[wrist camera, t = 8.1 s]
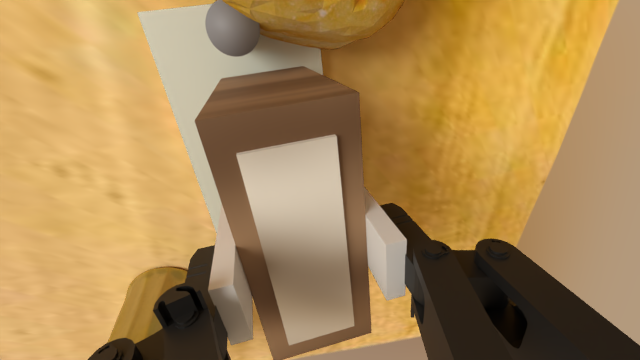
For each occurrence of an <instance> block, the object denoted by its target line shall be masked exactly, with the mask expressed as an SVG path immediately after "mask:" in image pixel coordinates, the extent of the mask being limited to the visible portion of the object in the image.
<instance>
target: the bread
mask: <svg viewBox="0 0 640 360" xmlns="http://www.w3.org/2000/svg"><path fill="white" fill-rule="evenodd" d="M216 1H217V0H216ZM223 2H225V3H226V4H228V5H229V6H231V7H232V8H234V9H236V10H237V11H239V12H240V13H242V14H243V15H245V16H246V17H248V18H250V19H252V20H254V21H256V22H258V23H259V26H260V34H261V35H263V36H266V37H269V38H272V39H276V40H279V41H283V42H288V43H292V44H296V45H301V46H306V47H312V48H318V49H338V48H340V47H342V46H344V45H347V44H349V43H351V42H354V41H355V40H359V39H364V38H368V37H370V36H371V35H372V34H374V33H375V32H376V31H378V30H379V29H381V28H382V27H383V26H384V25H386V24H387V23H388V22H389V21H391V20H392V19H393V18H394V16H395V14H396V13H397V11H398V10H399V9H400V7H401V6H402V4H403V2H404V0H223Z"/></svg>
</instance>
